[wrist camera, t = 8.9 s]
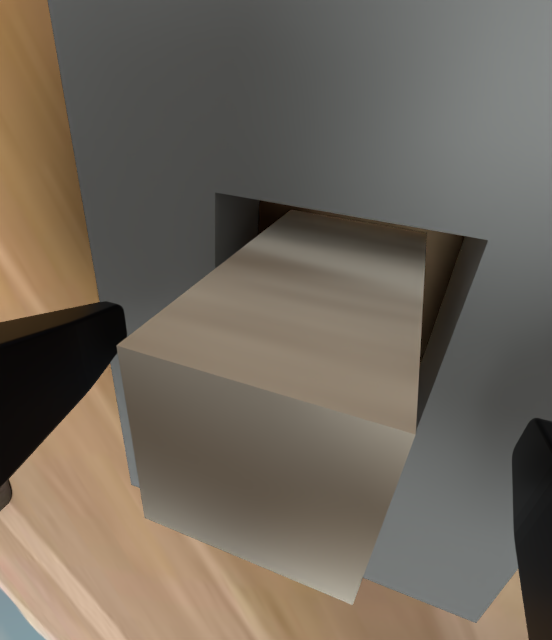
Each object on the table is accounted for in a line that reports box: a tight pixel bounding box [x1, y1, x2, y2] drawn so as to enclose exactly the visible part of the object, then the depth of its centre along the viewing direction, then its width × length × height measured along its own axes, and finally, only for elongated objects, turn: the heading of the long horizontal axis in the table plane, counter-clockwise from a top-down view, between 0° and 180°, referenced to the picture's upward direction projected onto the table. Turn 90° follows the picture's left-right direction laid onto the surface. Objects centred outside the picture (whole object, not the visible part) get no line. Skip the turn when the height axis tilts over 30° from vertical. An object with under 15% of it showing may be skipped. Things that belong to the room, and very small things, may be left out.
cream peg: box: [116, 210, 427, 605], centre depth 9 cm, size 4×4×8 cm
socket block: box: [48, 0, 552, 623], centre depth 11 cm, size 20×14×3 cm
